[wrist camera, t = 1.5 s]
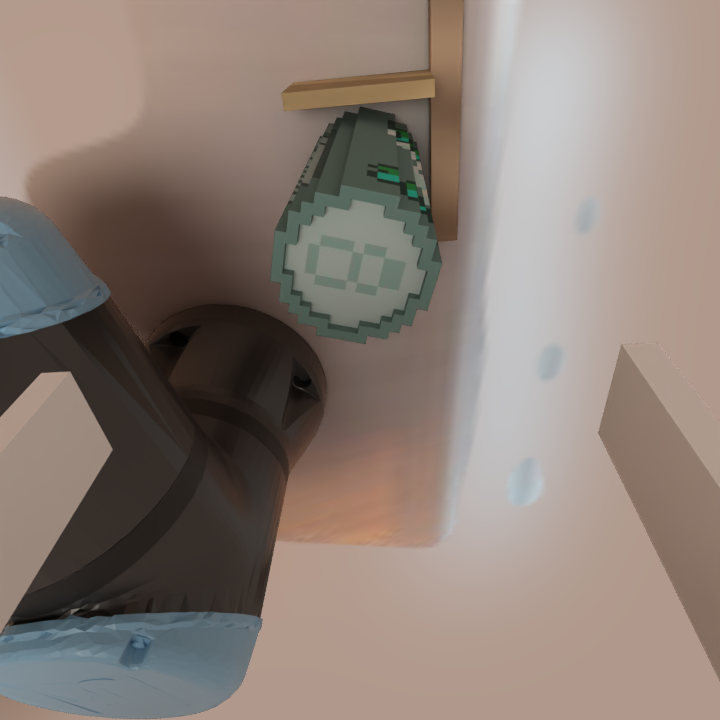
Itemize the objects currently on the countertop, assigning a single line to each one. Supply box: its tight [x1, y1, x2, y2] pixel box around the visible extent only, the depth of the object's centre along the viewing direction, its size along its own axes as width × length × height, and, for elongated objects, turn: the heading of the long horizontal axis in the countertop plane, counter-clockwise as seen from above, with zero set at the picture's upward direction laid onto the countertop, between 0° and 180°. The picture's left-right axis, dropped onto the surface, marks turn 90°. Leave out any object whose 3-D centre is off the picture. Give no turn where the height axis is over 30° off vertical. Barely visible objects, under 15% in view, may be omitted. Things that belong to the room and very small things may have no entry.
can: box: [270, 107, 442, 344], centre depth 24 cm, size 6×6×15 cm
